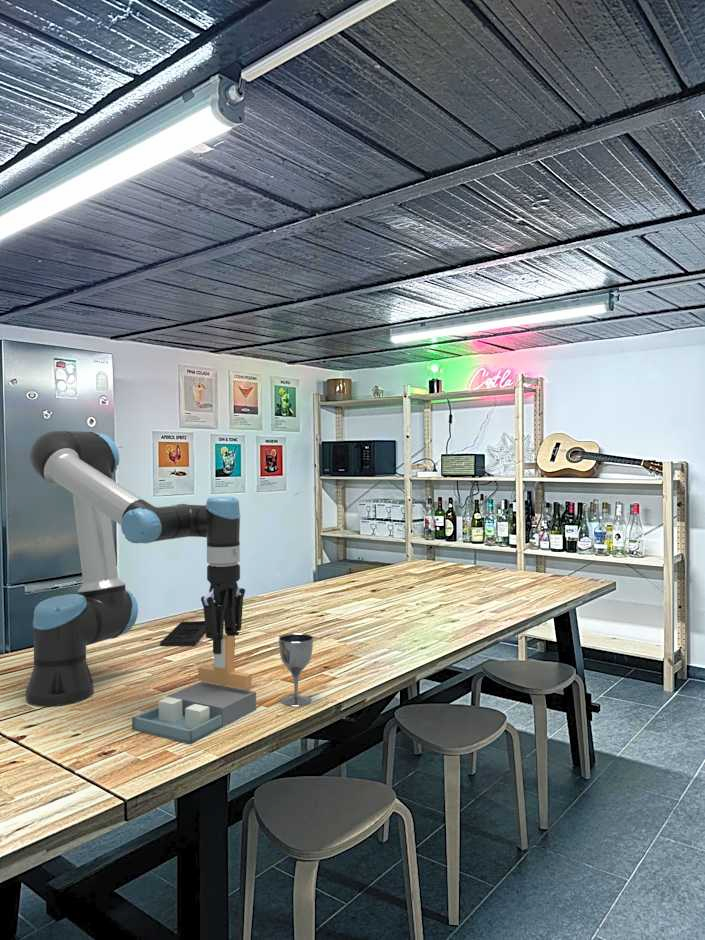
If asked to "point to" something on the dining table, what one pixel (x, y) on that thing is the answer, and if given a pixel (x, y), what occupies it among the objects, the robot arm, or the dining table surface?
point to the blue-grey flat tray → (174, 727)
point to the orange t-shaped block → (226, 670)
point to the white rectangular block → (196, 715)
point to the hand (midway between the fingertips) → (224, 665)
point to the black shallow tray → (185, 634)
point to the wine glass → (295, 662)
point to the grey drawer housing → (218, 700)
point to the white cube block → (170, 709)
